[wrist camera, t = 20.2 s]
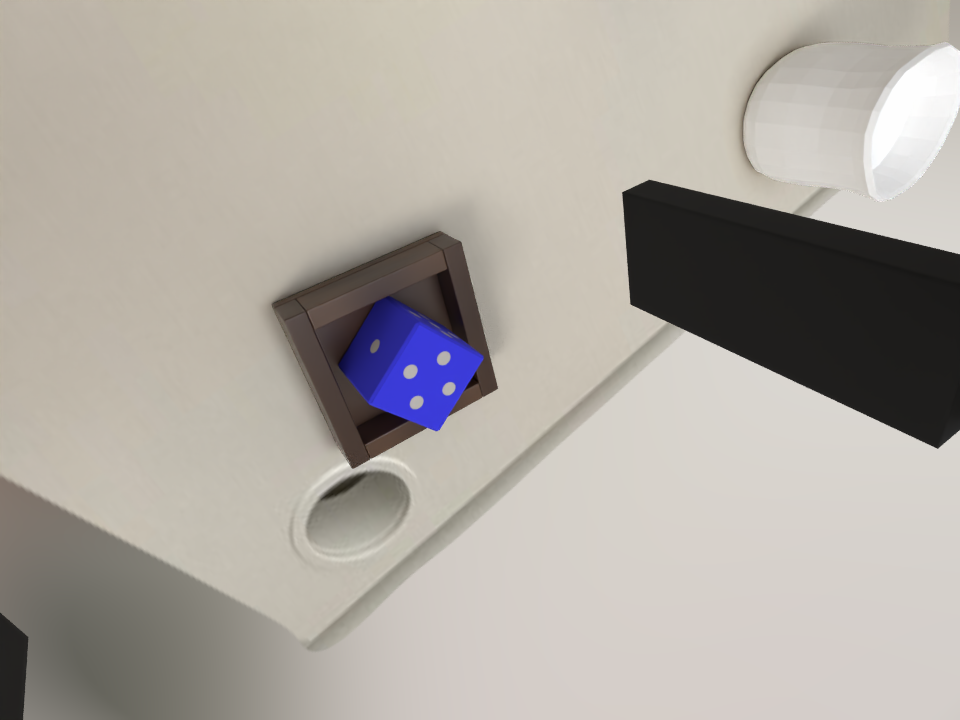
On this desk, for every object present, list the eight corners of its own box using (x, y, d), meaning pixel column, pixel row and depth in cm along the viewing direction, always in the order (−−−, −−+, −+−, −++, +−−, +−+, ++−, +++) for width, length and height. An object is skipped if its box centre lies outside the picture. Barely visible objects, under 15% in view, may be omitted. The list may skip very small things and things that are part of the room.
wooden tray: (338, 447, 38) (352, 469, 36) (271, 304, 32) (283, 320, 30) (478, 372, 41) (498, 389, 39) (440, 230, 35) (461, 241, 33)
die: (380, 291, 34) (418, 321, 30) (444, 326, 37) (486, 357, 33) (336, 365, 35) (367, 405, 31) (403, 394, 38) (439, 433, 34)
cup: (718, 141, 44) (849, 159, 36) (791, 8, 42) (944, -1, 35) (774, 199, 50) (897, 225, 42) (840, 85, 48) (979, 91, 41)
